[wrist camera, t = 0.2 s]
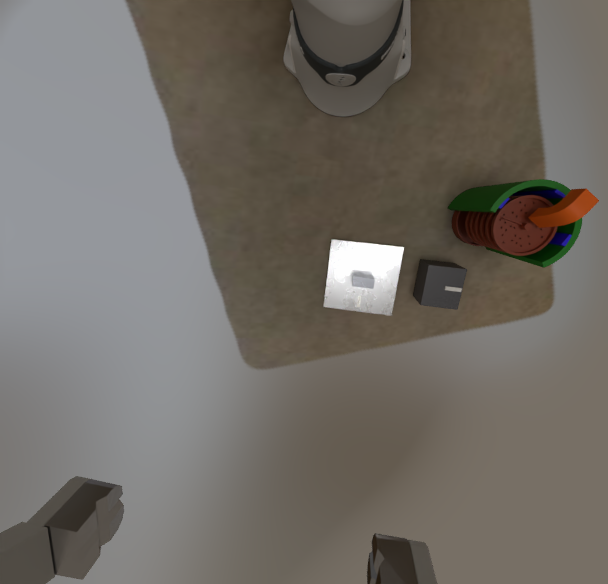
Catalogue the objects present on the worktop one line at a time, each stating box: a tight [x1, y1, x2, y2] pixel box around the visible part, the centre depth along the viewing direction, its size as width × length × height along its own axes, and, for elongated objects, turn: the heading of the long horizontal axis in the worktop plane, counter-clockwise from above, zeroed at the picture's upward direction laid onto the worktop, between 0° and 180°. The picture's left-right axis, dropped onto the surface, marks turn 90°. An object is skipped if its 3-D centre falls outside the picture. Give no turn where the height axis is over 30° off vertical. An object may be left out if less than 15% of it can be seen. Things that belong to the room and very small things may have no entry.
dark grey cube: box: [413, 259, 467, 310], centre depth 51 cm, size 6×6×6 cm
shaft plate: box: [324, 239, 404, 316], centre depth 53 cm, size 12×12×4 cm
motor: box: [448, 180, 599, 267], centre depth 41 cm, size 10×9×20 cm
